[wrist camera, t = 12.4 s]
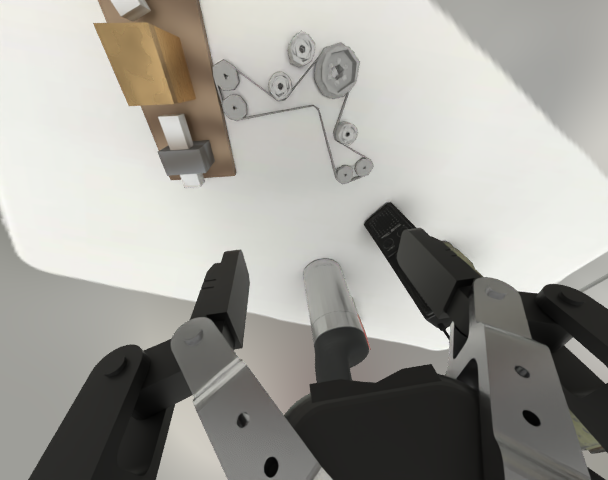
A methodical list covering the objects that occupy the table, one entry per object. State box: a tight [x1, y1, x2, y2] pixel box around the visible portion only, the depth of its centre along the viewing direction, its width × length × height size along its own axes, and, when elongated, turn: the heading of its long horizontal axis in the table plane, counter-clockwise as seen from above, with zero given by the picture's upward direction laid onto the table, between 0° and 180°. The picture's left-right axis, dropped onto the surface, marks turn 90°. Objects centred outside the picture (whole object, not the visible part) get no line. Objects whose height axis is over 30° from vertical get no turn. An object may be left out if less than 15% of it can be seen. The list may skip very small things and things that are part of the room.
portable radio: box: [364, 202, 452, 343], centre depth 35 cm, size 8×6×25 cm
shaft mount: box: [98, 0, 236, 188], centre depth 25 cm, size 27×10×7 cm, turn 2°
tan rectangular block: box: [93, 22, 196, 106], centre depth 24 cm, size 6×4×8 cm
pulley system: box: [213, 30, 374, 184], centre depth 31 cm, size 27×5×15 cm
